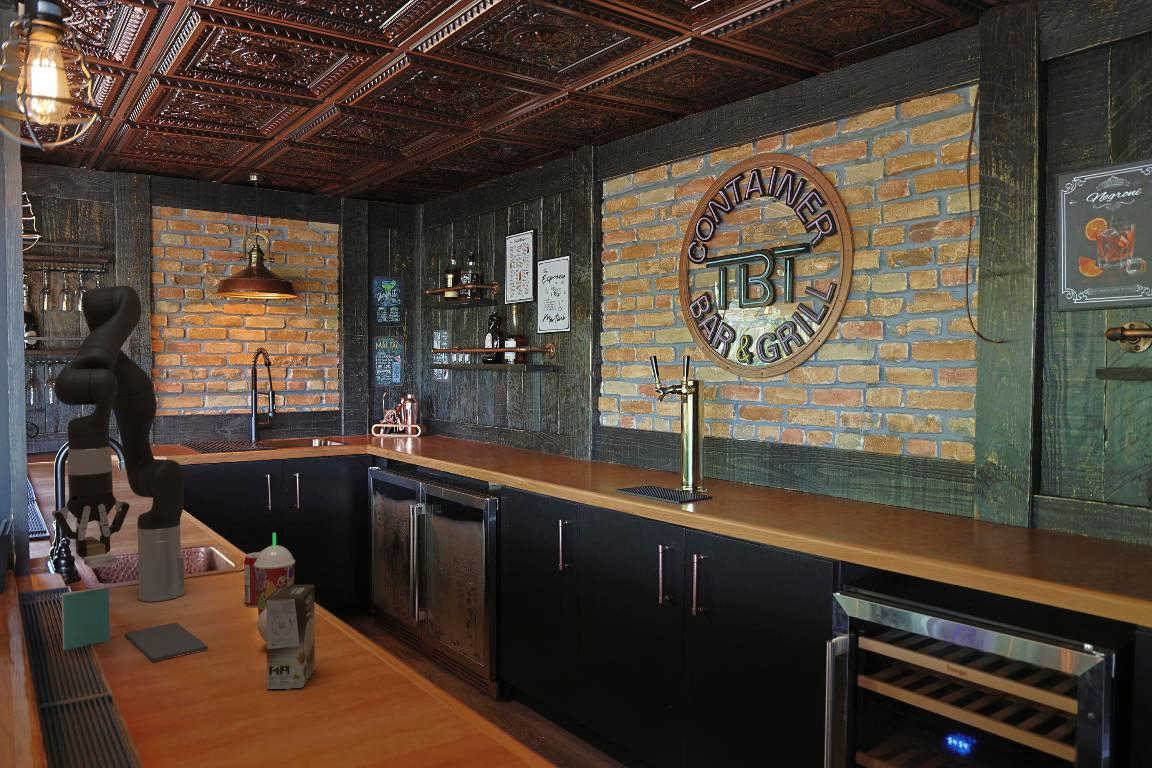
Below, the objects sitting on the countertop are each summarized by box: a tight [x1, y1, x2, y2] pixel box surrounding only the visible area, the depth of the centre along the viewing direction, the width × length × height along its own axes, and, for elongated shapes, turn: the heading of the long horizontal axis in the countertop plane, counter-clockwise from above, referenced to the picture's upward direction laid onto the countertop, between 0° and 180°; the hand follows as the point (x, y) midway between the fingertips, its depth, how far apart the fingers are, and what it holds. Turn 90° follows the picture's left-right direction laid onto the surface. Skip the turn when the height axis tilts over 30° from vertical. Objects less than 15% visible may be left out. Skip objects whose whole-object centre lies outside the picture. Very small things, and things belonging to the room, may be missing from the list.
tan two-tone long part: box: [74, 536, 119, 569], centre depth 165 cm, size 15×5×3 cm, turn 43°
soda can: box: [243, 551, 262, 608], centre depth 195 cm, size 6×6×12 cm
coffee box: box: [266, 584, 316, 690], centre depth 149 cm, size 9×6×16 cm
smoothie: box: [254, 532, 296, 619], centre depth 179 cm, size 8×8×20 cm
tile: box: [61, 585, 111, 651], centre depth 168 cm, size 8×2×11 cm, turn 132°
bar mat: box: [124, 622, 209, 664], centre depth 169 cm, size 10×20×1 cm, turn 42°
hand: (93, 556), depth 165 cm, fingers closed on tan two-tone long part, 3 cm apart
